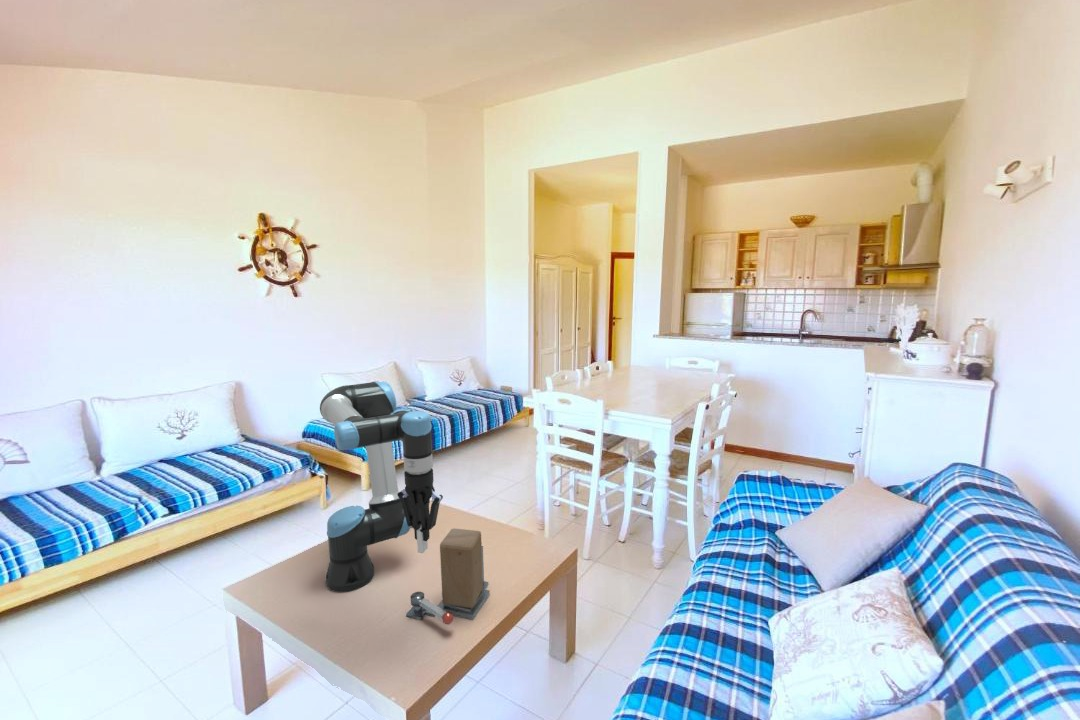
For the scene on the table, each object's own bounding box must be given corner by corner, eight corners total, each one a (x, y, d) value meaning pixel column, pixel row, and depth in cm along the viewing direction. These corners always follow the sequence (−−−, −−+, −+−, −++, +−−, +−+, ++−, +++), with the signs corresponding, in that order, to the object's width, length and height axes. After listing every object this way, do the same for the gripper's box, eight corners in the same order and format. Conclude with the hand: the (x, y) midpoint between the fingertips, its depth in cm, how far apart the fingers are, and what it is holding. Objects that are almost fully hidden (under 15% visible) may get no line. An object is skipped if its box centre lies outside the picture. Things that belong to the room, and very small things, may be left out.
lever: (446, 629, 131) (446, 619, 131) (408, 604, 142) (407, 594, 141) (457, 621, 134) (456, 611, 134) (419, 597, 145) (418, 588, 144)
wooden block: (473, 609, 141) (470, 547, 138) (441, 605, 143) (438, 543, 140) (483, 588, 150) (482, 529, 147) (453, 585, 152) (451, 526, 149)
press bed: (406, 616, 141) (403, 573, 139) (442, 575, 161) (440, 536, 159) (465, 630, 135) (464, 585, 133) (495, 586, 155) (494, 546, 153)
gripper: (389, 471, 127) (394, 553, 131) (432, 477, 123) (436, 561, 127) (405, 461, 134) (410, 539, 138) (447, 467, 130) (450, 547, 134)
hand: (422, 550), depth 132 cm, fingers closed
